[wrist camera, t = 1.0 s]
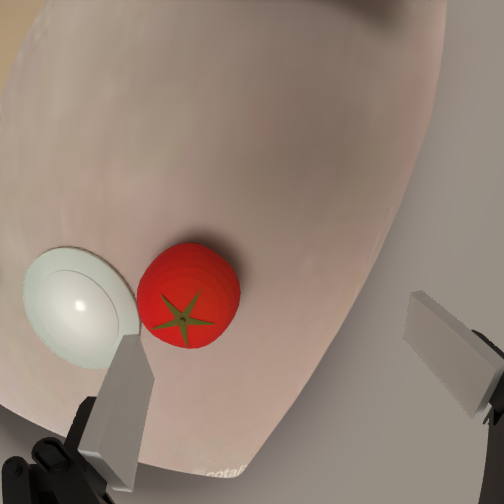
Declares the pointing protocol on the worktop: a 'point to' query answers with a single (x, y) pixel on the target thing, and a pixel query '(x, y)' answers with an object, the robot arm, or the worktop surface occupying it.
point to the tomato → (188, 296)
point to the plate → (79, 306)
